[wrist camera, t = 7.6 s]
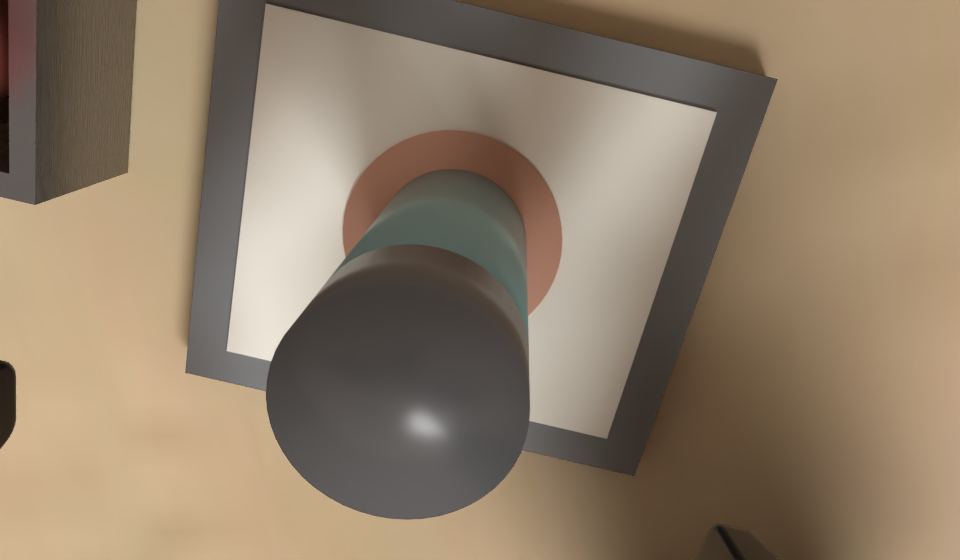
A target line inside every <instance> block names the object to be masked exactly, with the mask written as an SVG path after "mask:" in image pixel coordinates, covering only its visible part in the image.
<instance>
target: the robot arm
mask: <svg viewBox="0 0 960 560" xmlns="http://www.w3.org/2000/svg"><path fill="white" fill-rule="evenodd" d="M15 422H16V374H15V370H14V367H13V366H12V365H11V364H10V363H9V362H6V361H1V360H0V449H1V447H2V446H3V445H4V444H5V443H6V441H7V440H8V438H9V437H10V435H11V433H12V431H13V429H14V426H15ZM696 560H779V559H778V558H777V557H776V556H775V555H774V554H773V553H772V552H770V551H769V550H768V549H767V548H766V547H765V546H764V545H763V544H762V543H760V542H759V541H758V540H757V539H756V538H755V537H754V536H753V535H752V534H751V533H749V532H748V531H746V530H744V529H741V528H736V527H732V526H727V525H723V524H716V525H714V526H712V527H711V528H710V530H709V531H708V533H707V535H706V538H705V540H704V542H703V545H702V547H701V549H700V552H699V554H698V557H697V559H696Z"/></svg>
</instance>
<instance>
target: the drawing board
mask: <svg viewBox="0 0 960 560" xmlns="http://www.w3.org/2000/svg"><path fill="white" fill-rule="evenodd" d="M777 80H778V79H775V78H770V77H766V76H762V75H758V74H754V73H750V72H746V71H742V70H737V69H733V68H729V67H725V66H721V65H717V64H713V63H709V62H705V61H700V60H696V59H692V58H688V57H684V56H680V55H676V54H672V53H667V52H663V51H659V50H655V49H651V48H647V47H643V46H639V45H635V44H630V43H626V42H622V41H618V40H614V39H610V38H606V37H602V36H597V35H593V34H589V33H585V32H581V31H577V30H573V29H569V28H565V27H560V26H556V25H552V24H548V23H544V22H540V21H536V20H532V19H527V18H523V17H519V16H515V15H511V14H507V13H503V12H499V11H494V10H490V9H486V8H482V7H478V6H474V5H470V4H466V3H462V2H457V1H453V0H219V9H218V20H217V31H216V42H215V53H214V64H213V75H212V86H211V97H210V108H209V119H208V130H207V141H206V152H205V163H204V174H203V185H202V196H201V207H200V218H199V229H198V240H197V251H196V262H195V273H194V284H193V295H192V306H191V317H190V328H189V339H188V350H187V361H186V372H185V373H189V374H193V375H198V376H202V377H206V378H211V379H215V380H220V381H224V382H228V383H233V384H237V385H241V386H246V387H250V388H254V389H259V390H263V391H266V385H267V376H268V372H269V367H270V363H271V361H272V358H273V355H274V353H275V350H276V348H277V347H278V345H279V343H280V341H281V340H282V338H283V336H284V335H285V334H286V332H287V331H288V330H289V328H290V327H291V326H292V325H293V323H294V322H295V321H296V320H297V318H298V317H299V316H300V315H301V313H302V312H303V311H304V310H305V308H306V307H307V306H308V304H309V303H310V302H311V301H312V299H313V298H314V297H315V296H316V294H317V293H318V292H319V291H320V289H321V288H322V287H323V286H324V284H325V283H326V282H327V281H328V279H329V278H330V277H331V275H332V274H333V273H334V272H335V270H336V269H337V268H338V267H339V265H340V264H341V263H342V262H343V260H344V259H345V258H346V257H347V255H348V254H349V253H350V251H351V250H352V249H353V248H354V246H355V245H356V244H357V243H358V241H359V240H360V239H361V238H362V236H363V235H364V234H365V233H366V231H367V230H368V229H369V227H370V226H371V225H372V224H373V222H374V221H375V220H376V219H377V217H378V216H379V215H380V214H381V212H382V211H383V210H384V209H385V207H386V206H387V205H388V204H389V202H390V201H391V200H392V198H393V197H394V196H395V195H396V193H397V192H398V191H399V190H400V189H401V188H402V187H403V186H404V185H406V184H407V183H409V182H410V181H411V180H413V179H415V178H417V177H418V176H420V175H423V174H426V173H428V172H432V171H436V170H442V169H460V170H466V171H471V172H474V173H477V174H480V175H482V176H484V177H486V178H488V179H490V180H491V181H493V182H495V183H496V184H497V185H499V186H500V187H501V188H502V189H503V190H504V191H505V192H506V193H507V194H508V195H509V196H510V197H511V199H512V200H513V201H514V203H515V204H516V206H517V208H518V210H519V212H520V214H521V216H522V219H523V222H524V226H525V231H526V243H527V289H528V336H529V382H530V418H529V427H528V432H527V437H526V440H525V443H524V446H523V448H522V450H524V451H528V452H533V453H537V454H541V455H546V456H550V457H554V458H559V459H563V460H567V461H572V462H576V463H580V464H585V465H589V466H593V467H598V468H602V469H606V470H611V471H615V472H620V473H624V474H628V475H633V476H634V475H635V473H636V470H637V467H638V464H639V461H640V459H641V456H642V453H643V450H644V448H645V445H646V442H647V439H648V437H649V434H650V431H651V428H652V425H653V423H654V420H655V417H656V414H657V412H658V409H659V406H660V403H661V401H662V398H663V395H664V392H665V390H666V387H667V384H668V381H669V378H670V376H671V373H672V370H673V367H674V365H675V362H676V359H677V356H678V354H679V351H680V348H681V345H682V342H683V340H684V337H685V334H686V331H687V329H688V326H689V323H690V320H691V318H692V315H693V312H694V309H695V306H696V304H697V301H698V298H699V295H700V293H701V290H702V287H703V284H704V282H705V279H706V276H707V273H708V271H709V268H710V265H711V262H712V259H713V257H714V254H715V251H716V248H717V246H718V243H719V240H720V237H721V235H722V232H723V229H724V226H725V223H726V221H727V218H728V215H729V212H730V210H731V207H732V204H733V201H734V199H735V196H736V193H737V190H738V187H739V185H740V182H741V179H742V176H743V174H744V171H745V168H746V165H747V163H748V160H749V157H750V154H751V151H752V149H753V146H754V143H755V140H756V138H757V135H758V132H759V129H760V127H761V124H762V121H763V118H764V116H765V113H766V110H767V107H768V104H769V102H770V99H771V96H772V93H773V91H774V88H775V85H776V82H777Z"/></svg>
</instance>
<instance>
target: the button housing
mask: <svg viewBox="0 0 960 560" xmlns="http://www.w3.org/2000/svg"><path fill="white" fill-rule="evenodd" d="M136 3H137V0H8V31H9V124H8V123H4V122H0V197H4V198H8V199H12V200H16V201H21V202H25V203H29V204H34V205H36V204H39V203H42V202H45V201H48V200H50V199H53V198H56V197H59V196H62V195H65V194H68V193H70V192H73V191H76V190H79V189H82V188H85V187H88V186H90V185H93V184H96V183H99V182H102V181H105V180H108V179H110V178H113V177H116V176H119V175H122V174H125V173H128V154H129V135H130V116H131V97H132V78H133V60H134V41H135V22H136Z"/></svg>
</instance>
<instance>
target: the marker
mask: <svg viewBox="0 0 960 560" xmlns="http://www.w3.org/2000/svg"><path fill="white" fill-rule="evenodd" d="M266 401H267V411H268V415H269V420H270V424H271V427H272V430H273V432H274V435H275V438H276V440H277V442H278V444H279V446H280V447H281V449H282V451H283V453H284V454H285V456H286V457H287V459H288V460H289V461H290V463H291V464H292V466H293V467H294V468H295V469H296V470H297V471H298V472H299V473H300V475H301V476H302V477H303V478H304V479H306V480H307V481H308V482H309V483H310V484H311V485H312V486H314V487H315V488H316V489H317V490H319V491H320V492H322V493H323V494H325V495H326V496H328V497H329V498H331V499H333V500H335V501H337V502H338V503H340V504H342V505H344V506H347V507H349V508H352V509H354V510H357V511H359V512H363V513H366V514H370V515H373V516H379V517H385V518H391V519H424V518H430V517H436V516H441V515H444V514H448V513H451V512H454V511H457V510H459V509H462V508H464V507H466V506H469V505H470V504H472V503H474V502H476V501H477V500H479V499H481V498H482V497H484V496H485V495H486V494H488V493H489V492H490V491H492V490H493V489H494V488H495V487H496V486H497V485H498V484H499V483H500V482H501V481H502V480H503V479H504V478H505V477H506V475H507V474H508V473H509V471H510V470H511V469H512V468H513V466H514V464H515V463H516V461H517V459H518V457H519V455H520V454H521V451H522V448H523V446H524V443H525V440H526V437H527V432H528V427H529V418H530V382H529V336H528V289H527V243H526V231H525V226H524V222H523V219H522V216H521V214H520V212H519V210H518V208H517V206H516V204H515V203H514V201H513V200H512V199H511V197H510V196H509V195H508V194H507V193H506V192H505V191H504V190H503V189H502V188H501V187H500V186H499V185H497V184H496V183H495V182H493V181H491V180H490V179H488V178H486V177H484V176H482V175H480V174H477V173H474V172H471V171H466V170H460V169H442V170H436V171H432V172H428V173H426V174H423V175H420V176H418V177H417V178H415V179H413V180H411V181H410V182H409V183H407V184H406V185H404V186H403V187H402V188H401V189H400V190H399V191H398V192H397V193H396V195H395V196H394V197H393V198H392V200H391V201H390V202H389V204H388V205H387V206H386V207H385V209H384V210H383V211H382V212H381V214H380V215H379V216H378V217H377V219H376V220H375V221H374V222H373V224H372V225H371V226H370V227H369V229H368V230H367V231H366V233H365V234H364V235H363V236H362V238H361V239H360V240H359V241H358V243H357V244H356V245H355V246H354V248H353V249H352V250H351V251H350V253H349V254H348V255H347V257H346V258H345V259H344V260H343V262H342V263H341V264H340V265H339V267H338V268H337V269H336V270H335V272H334V273H333V274H332V275H331V277H330V278H329V279H328V281H327V282H326V283H325V284H324V286H323V287H322V288H321V289H320V291H319V292H318V293H317V294H316V296H315V297H314V298H313V299H312V301H311V302H310V303H309V304H308V306H307V307H306V308H305V310H304V311H303V312H302V313H301V315H300V316H299V317H298V318H297V320H296V321H295V322H294V323H293V325H292V326H291V327H290V328H289V330H288V331H287V332H286V334H285V335H284V336H283V338H282V340H281V341H280V343H279V345H278V347H277V348H276V350H275V353H274V355H273V358H272V361H271V363H270V367H269V372H268V376H267V385H266Z"/></svg>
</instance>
